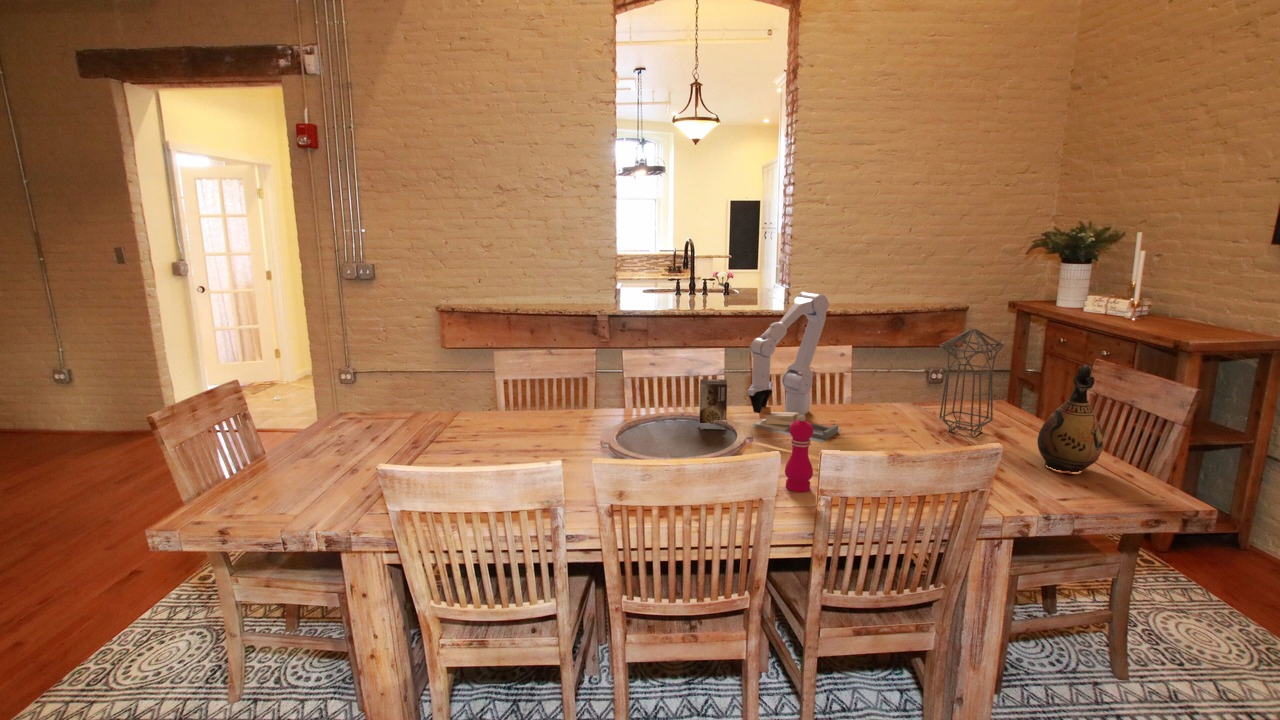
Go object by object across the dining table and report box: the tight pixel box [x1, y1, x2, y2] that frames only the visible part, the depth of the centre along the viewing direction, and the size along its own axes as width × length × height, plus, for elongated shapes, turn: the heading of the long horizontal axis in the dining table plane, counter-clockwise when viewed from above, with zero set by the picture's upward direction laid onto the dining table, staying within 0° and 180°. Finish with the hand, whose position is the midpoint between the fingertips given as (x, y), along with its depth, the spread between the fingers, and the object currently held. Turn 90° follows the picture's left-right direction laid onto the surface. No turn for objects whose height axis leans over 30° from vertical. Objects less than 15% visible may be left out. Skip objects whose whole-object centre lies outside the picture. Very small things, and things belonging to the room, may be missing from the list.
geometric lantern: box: [939, 328, 1005, 436], centre depth 214 cm, size 16×16×35 cm
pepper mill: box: [784, 415, 814, 493], centre depth 171 cm, size 7×7×20 cm
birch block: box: [758, 406, 799, 425], centre depth 221 cm, size 5×13×5 cm, turn 52°
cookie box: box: [699, 378, 728, 423], centre depth 219 cm, size 9×6×16 cm
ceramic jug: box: [1037, 364, 1104, 472], centre depth 184 cm, size 17×15×30 cm
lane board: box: [749, 419, 842, 443], centre depth 218 cm, size 16×26×3 cm, turn 52°
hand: (759, 411), depth 226 cm, fingers closed on birch block, 3 cm apart
